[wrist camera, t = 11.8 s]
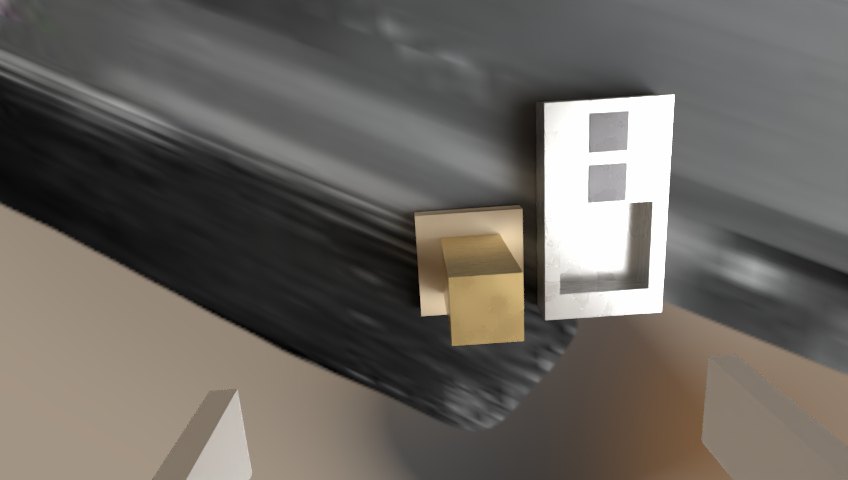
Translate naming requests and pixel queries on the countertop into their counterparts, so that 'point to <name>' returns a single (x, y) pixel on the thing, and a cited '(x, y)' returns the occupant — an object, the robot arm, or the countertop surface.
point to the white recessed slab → (602, 204)
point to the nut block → (482, 290)
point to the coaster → (455, 225)
